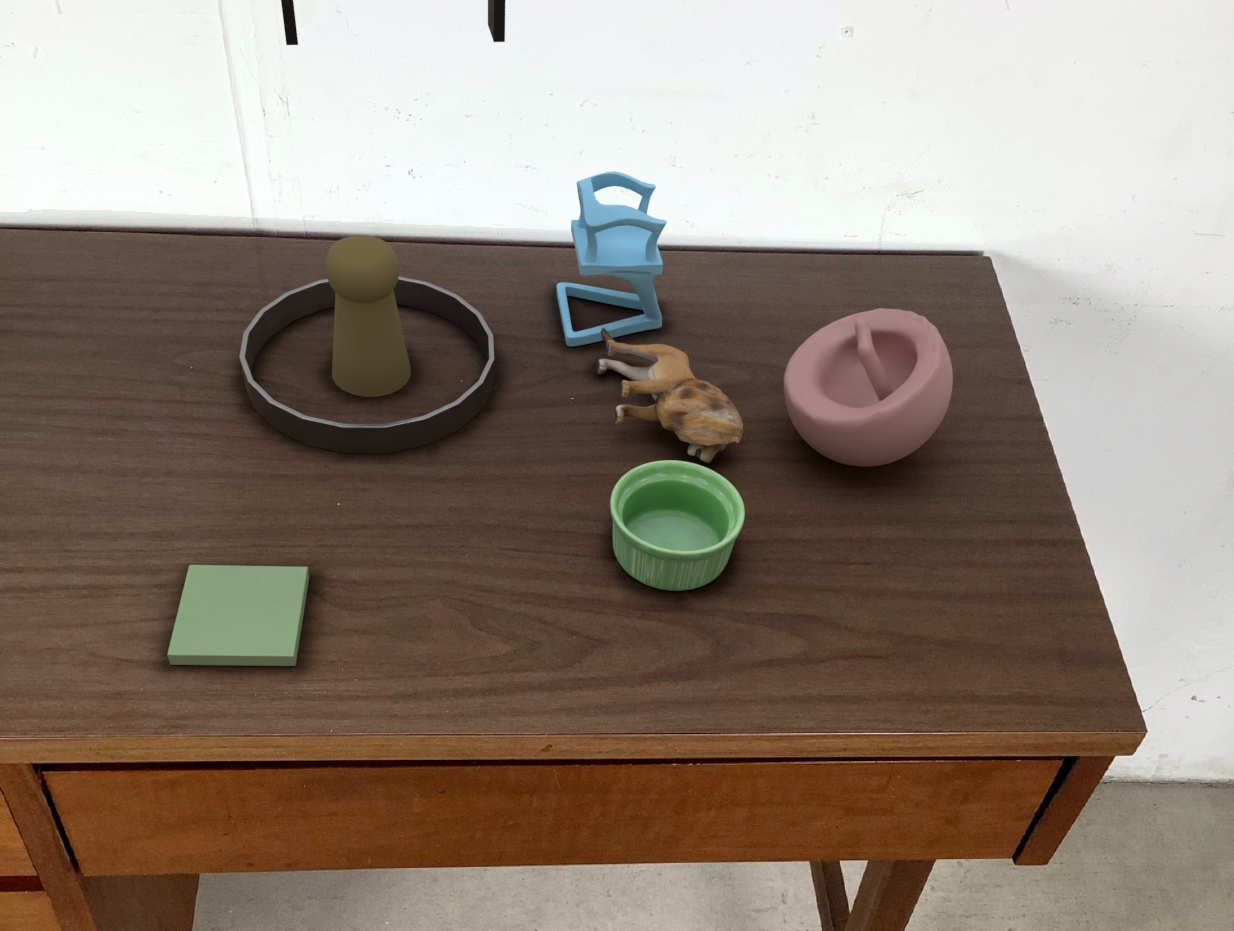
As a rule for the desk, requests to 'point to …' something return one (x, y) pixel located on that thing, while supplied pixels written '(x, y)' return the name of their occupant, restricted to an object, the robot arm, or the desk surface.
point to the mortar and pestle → (869, 386)
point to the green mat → (239, 616)
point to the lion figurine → (675, 397)
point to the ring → (367, 435)
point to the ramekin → (674, 523)
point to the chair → (614, 257)
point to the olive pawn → (366, 317)
